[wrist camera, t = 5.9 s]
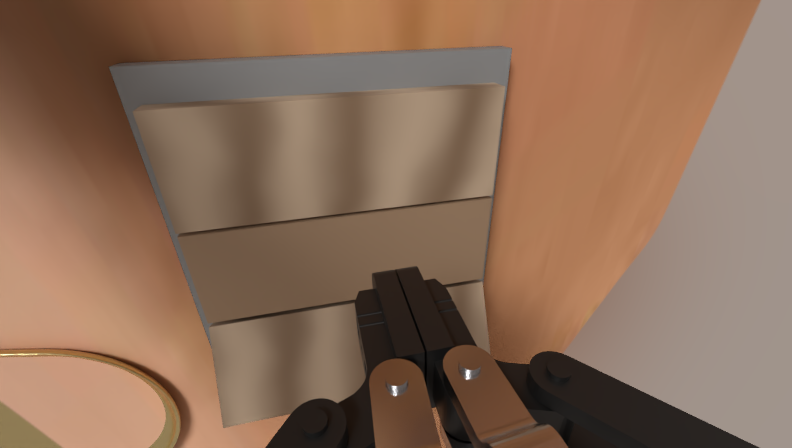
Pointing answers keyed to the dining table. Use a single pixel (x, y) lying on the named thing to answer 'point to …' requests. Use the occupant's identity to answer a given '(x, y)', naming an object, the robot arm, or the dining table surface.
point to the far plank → (305, 355)
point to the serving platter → (25, 444)
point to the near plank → (321, 153)
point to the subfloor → (325, 235)
